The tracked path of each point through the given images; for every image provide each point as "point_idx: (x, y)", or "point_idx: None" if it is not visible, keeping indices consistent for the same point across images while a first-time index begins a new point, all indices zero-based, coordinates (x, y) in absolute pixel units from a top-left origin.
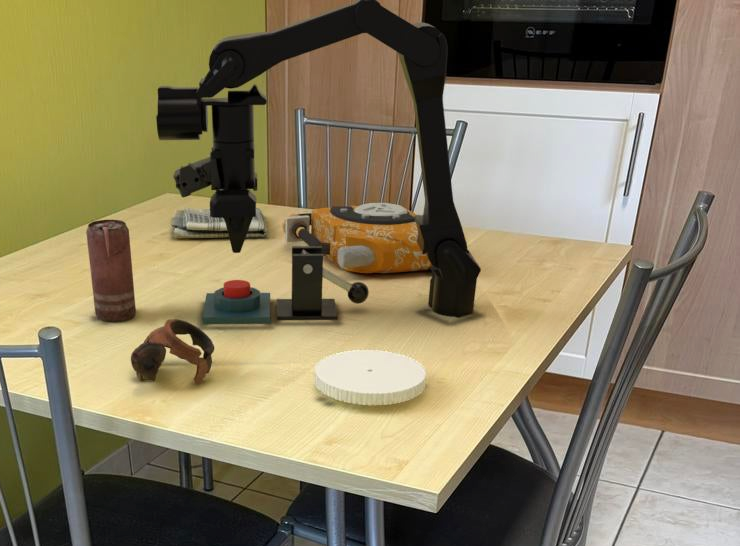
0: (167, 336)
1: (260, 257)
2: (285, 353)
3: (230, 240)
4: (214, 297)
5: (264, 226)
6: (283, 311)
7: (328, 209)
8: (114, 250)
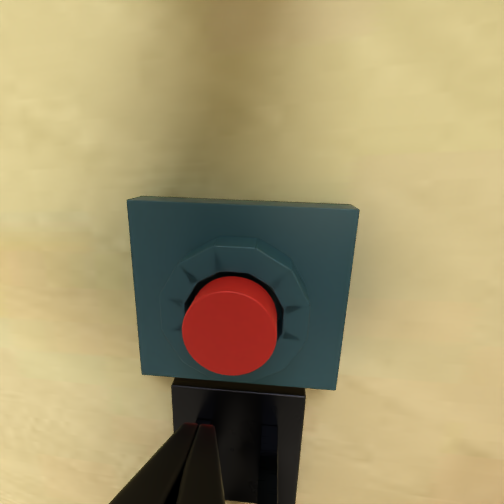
0: None
1: None
2: (12, 372)
3: (126, 485)
4: (210, 245)
5: None
6: (207, 402)
7: None
8: None
